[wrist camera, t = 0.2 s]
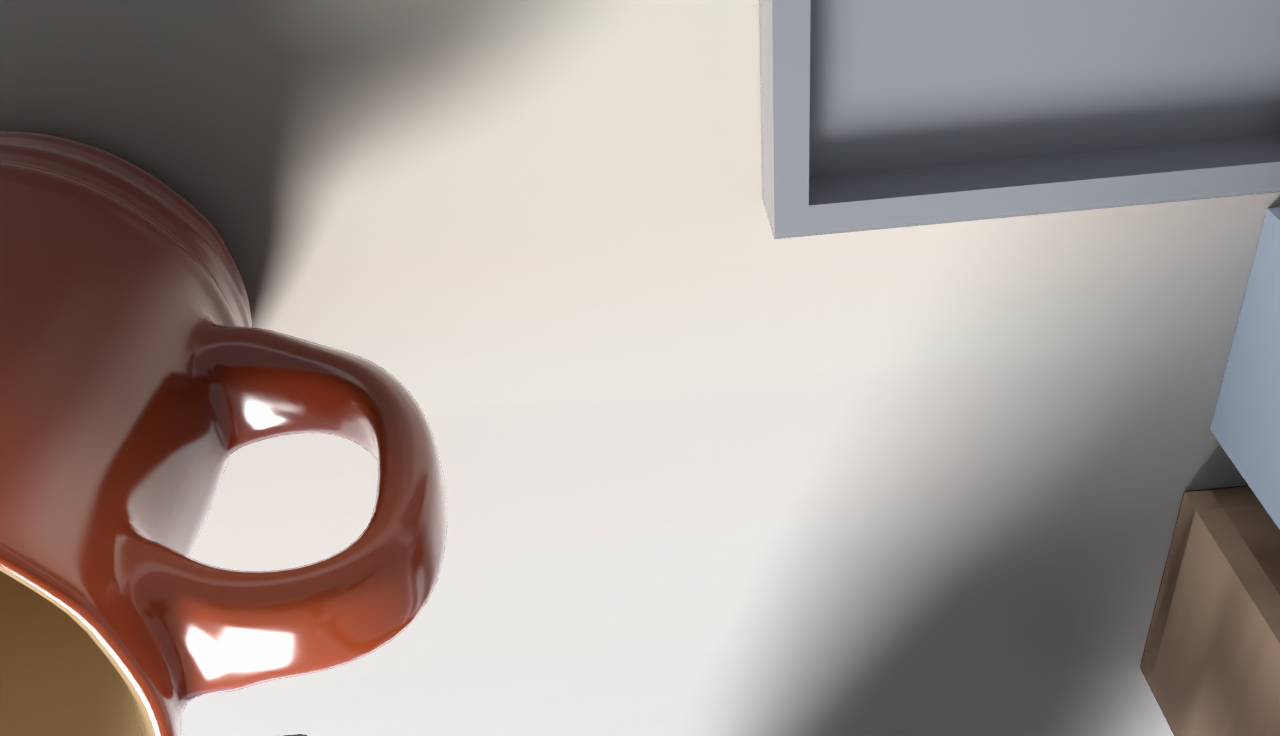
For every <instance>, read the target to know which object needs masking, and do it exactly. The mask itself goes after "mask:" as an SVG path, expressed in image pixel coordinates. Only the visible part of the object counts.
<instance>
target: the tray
mask: <svg viewBox="0 0 1280 736" xmlns="http://www.w3.org/2000/svg"><path fill="white" fill-rule="evenodd" d="M759 4H760V67H761V129H762V192H763V202H764V205H765V209H766V212H767V215H768V219H769V222H770V225H771V229H772V232H773V235H774V239H780V238H791V237H801V236H812V235H823V234H833V233H844V232H855V231H865V230H876V229H887V228H897V227H908V226H919V225H929V224H940V223H951V222H962V221H972V220H983V219H994V218H1004V217H1015V216H1026V215H1036V214H1047V213H1058V212H1068V211H1079V210H1090V209H1100V208H1111V207H1122V206H1132V205H1143V204H1154V203H1164V202H1175V201H1186V200H1196V199H1207V198H1218V197H1228V196H1239V195H1250V194H1260V193H1271V192H1280V0H759Z"/></svg>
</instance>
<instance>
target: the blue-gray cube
mask: <svg viewBox="0 0 1280 736" xmlns="http://www.w3.org/2000/svg"><path fill="white" fill-rule="evenodd" d="M1210 431H1211V433H1212V434H1213V435H1214V437H1215V438H1216V440H1217V441H1218V442H1219V444H1220V445H1221V447H1222V448H1223V450H1224V451H1225V452H1226V454H1227V455H1228V457H1229V458H1230V460H1231V461H1232V462H1233V464H1234V465H1235V467H1236V468H1237V470H1238V471H1239V472H1240V474H1241V475H1242V477H1243V478H1244V480H1245V481H1246V482H1247V484H1248V485H1249V487H1250V488H1251V490H1252V491H1253V492H1254V494H1255V495H1256V497H1257V498H1258V500H1259V501H1260V502H1261V504H1262V505H1263V507H1264V508H1265V510H1266V511H1267V512H1268V514H1269V515H1270V517H1271V518H1272V520H1273V521H1274V522H1275V524H1276V525H1277V527H1278V528H1279V530H1280V207H1274V208H1267V210H1266V214H1265V218H1264V222H1263V226H1262V230H1261V234H1260V238H1259V241H1258V245H1257V249H1256V253H1255V257H1254V261H1253V265H1252V268H1251V272H1250V276H1249V280H1248V284H1247V288H1246V292H1245V296H1244V299H1243V303H1242V307H1241V311H1240V315H1239V319H1238V323H1237V327H1236V330H1235V334H1234V338H1233V342H1232V346H1231V350H1230V354H1229V358H1228V361H1227V365H1226V369H1225V373H1224V377H1223V381H1222V385H1221V389H1220V392H1219V396H1218V400H1217V404H1216V408H1215V412H1214V416H1213V419H1212V423H1211V427H1210Z"/></svg>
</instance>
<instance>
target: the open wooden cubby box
mask: <svg viewBox="0 0 1280 736" xmlns="http://www.w3.org/2000/svg"><path fill="white" fill-rule="evenodd" d="M1140 668H1141V670H1142V672H1143V674H1144V676H1145V678H1146V680H1147V682H1148V684H1149V686H1150V688H1151V690H1152V692H1153V694H1154V696H1155V698H1156V700H1157V702H1158V704H1159V706H1160V708H1161V710H1162V712H1163V714H1164V716H1165V718H1166V720H1167V722H1168V724H1169V726H1170V728H1171V730H1172V732H1173V734H1174V736H1280V530H1279V528H1278V527H1277V525H1276V524H1275V522H1274V521H1273V520H1272V518H1271V517H1270V515H1269V514H1268V512H1267V511H1266V510H1265V508H1264V507H1263V505H1262V504H1261V502H1260V501H1259V500H1258V498H1257V497H1256V495H1255V494H1254V492H1253V491H1252V490H1251V488H1250V487H1249V486H1246V487H1235V488H1225V489H1214V490H1204V491H1193V492H1184V496H1183V500H1182V504H1181V508H1180V512H1179V515H1178V519H1177V523H1176V527H1175V531H1174V535H1173V539H1172V543H1171V547H1170V551H1169V555H1168V559H1167V563H1166V567H1165V571H1164V575H1163V579H1162V583H1161V587H1160V591H1159V595H1158V599H1157V603H1156V607H1155V611H1154V615H1153V619H1152V623H1151V627H1150V630H1149V634H1148V638H1147V642H1146V646H1145V650H1144V654H1143V658H1142V662H1141V666H1140Z"/></svg>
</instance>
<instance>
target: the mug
mask: <svg viewBox="0 0 1280 736" xmlns="http://www.w3.org/2000/svg"><path fill="white" fill-rule="evenodd" d="M297 433H322V434H329V435H335V436H339V437H343V438H346V439H349V440H351V441H354V442H355V443H357V444H359V445H361V446H362V447H364V448H365V449H366V450H367V451H369V452H370V453H371V454H372V455H373V456H374V457H375V458H376V459H377V461H378V487H377V496H376V502H375V506H374V510H373V514H372V518H371V520H370V522H369V524H368V527H367V528H366V529H365V530H364V532H363V533H362V534H361V535H360V536H359V538H358V539H357V540H356V541H354V542H353V543H352V544H351V545H349V546H348V547H347V548H345V549H344V550H343V551H341V552H339V553H337V554H335V555H333V556H331V557H329V558H327V559H324V560H321V561H318V562H315V563H312V564H309V565H305V566H300V567H296V568H291V569H284V570H275V571H238V570H230V569H223V568H219V567H215V566H211V565H208V564H205V563H202V562H199V561H197V560H195V559H192V558H190V556H191V554H192V551H193V549H194V547H195V544H196V542H197V540H198V537H199V535H200V533H201V530H202V528H203V525H204V523H205V521H206V518H207V516H208V513H209V511H210V508H211V506H212V503H213V501H214V498H215V496H216V493H217V490H218V487H219V485H220V482H221V479H222V476H223V474H224V471H225V468H226V465H227V462H228V459H229V456H230V455H231V454H232V453H233V452H234V451H236V450H237V449H239V448H241V447H243V446H245V445H248V444H251V443H254V442H257V441H261V440H265V439H268V438H273V437H277V436H282V435H288V434H297ZM446 532H447V501H446V491H445V482H444V476H443V471H442V467H441V462H440V458H439V453H438V449H437V445H436V442H435V439H434V437H433V434H432V431H431V428H430V426H429V423H428V421H427V419H426V417H425V415H424V413H423V411H422V410H421V408H420V406H419V405H418V403H417V402H416V400H415V399H414V398H413V396H412V395H411V393H410V392H409V391H408V390H407V389H406V388H405V386H404V385H403V384H402V383H401V382H400V381H399V380H397V379H396V378H395V377H394V376H393V375H391V374H390V373H389V372H387V371H386V370H384V369H383V368H381V367H380V366H378V365H376V364H375V363H373V362H371V361H369V360H367V359H364V358H362V357H360V356H357V355H354V354H351V353H348V352H344V351H341V350H337V349H334V348H330V347H327V346H323V345H320V344H316V343H313V342H310V341H306V340H303V339H300V338H296V337H293V336H290V335H286V334H283V333H279V332H275V331H271V330H266V329H260V328H252V321H251V312H250V306H249V300H248V296H247V292H246V288H245V285H244V283H243V280H242V277H241V275H240V272H239V270H238V268H237V266H236V264H235V262H234V260H233V258H232V256H231V254H230V252H229V250H228V248H227V247H226V245H225V243H224V241H223V240H222V238H221V236H220V235H219V233H218V232H217V231H216V229H215V228H214V226H213V225H212V224H211V223H210V222H209V221H208V220H207V219H206V218H205V217H204V216H203V215H202V214H201V213H200V212H199V211H198V210H197V209H196V208H195V207H194V206H192V205H191V204H190V203H189V202H188V201H186V200H185V199H184V198H183V197H182V196H180V195H179V194H178V193H176V192H175V191H174V190H172V189H171V188H170V187H168V186H167V185H166V184H164V183H163V182H161V181H160V180H158V179H157V178H155V177H154V176H152V175H151V174H149V173H148V172H146V171H144V170H143V169H141V168H139V167H137V166H135V165H134V164H132V163H130V162H128V161H126V160H124V159H122V158H120V157H117V156H115V155H113V154H111V153H109V152H106V151H103V150H101V149H98V148H95V147H93V146H90V145H87V144H83V143H80V142H76V141H73V140H70V139H65V138H60V137H56V136H51V135H45V134H37V133H29V132H8V131H2V132H0V736H180V735H181V718H182V712H183V711H184V709H185V707H186V705H187V703H188V702H190V701H191V700H193V699H194V698H196V697H199V696H202V695H206V694H212V693H220V692H229V691H235V690H240V689H243V688H246V687H249V686H252V685H255V684H259V683H262V682H266V681H270V680H275V679H281V678H287V677H293V676H299V675H304V674H310V673H314V672H318V671H323V670H327V669H331V668H334V667H337V666H340V665H343V664H347V663H349V662H352V661H354V660H356V659H358V658H361V657H363V656H365V655H368V654H370V653H372V652H373V651H375V650H377V649H378V648H380V647H382V646H383V645H385V644H387V643H388V642H390V641H391V640H393V639H394V638H395V637H396V636H397V635H399V634H400V633H401V632H402V631H403V630H404V629H406V628H407V627H408V626H409V625H410V624H411V623H412V621H413V620H414V619H415V618H416V616H417V615H418V614H419V613H420V611H421V610H422V609H423V607H424V606H425V605H426V603H427V601H428V599H429V597H430V595H431V593H432V591H433V589H434V587H435V585H436V582H437V580H438V577H439V573H440V569H441V565H442V561H443V558H444V550H445V541H446Z"/></svg>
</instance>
